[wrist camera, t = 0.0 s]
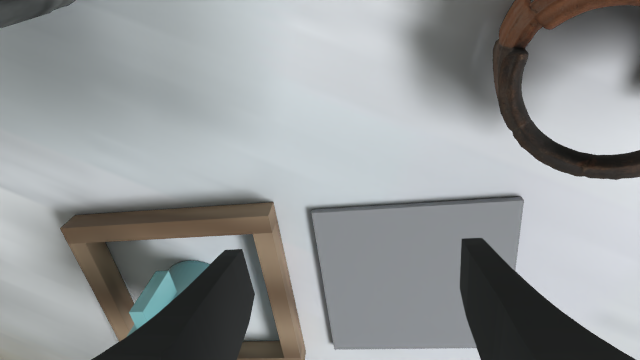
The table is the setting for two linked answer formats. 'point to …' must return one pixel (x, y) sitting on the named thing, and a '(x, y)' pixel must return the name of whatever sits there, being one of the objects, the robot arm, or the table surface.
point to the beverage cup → (27, 9)
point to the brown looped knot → (508, 64)
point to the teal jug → (164, 290)
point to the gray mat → (406, 269)
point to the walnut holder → (255, 219)
